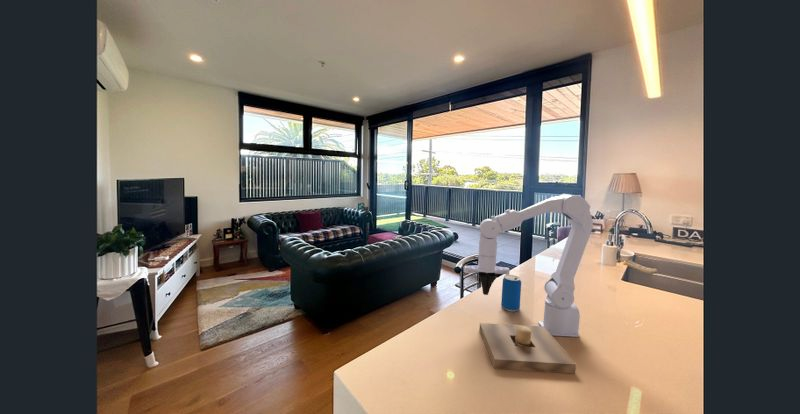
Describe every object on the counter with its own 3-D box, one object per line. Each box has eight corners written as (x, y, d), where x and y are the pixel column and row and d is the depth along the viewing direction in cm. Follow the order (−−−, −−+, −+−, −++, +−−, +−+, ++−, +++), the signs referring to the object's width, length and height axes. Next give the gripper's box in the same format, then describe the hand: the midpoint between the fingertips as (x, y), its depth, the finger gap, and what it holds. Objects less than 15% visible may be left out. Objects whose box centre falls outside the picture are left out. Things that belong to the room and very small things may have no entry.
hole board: (543, 333, 88) (544, 326, 88) (575, 373, 70) (576, 364, 70) (479, 330, 89) (479, 322, 89) (494, 368, 72) (494, 359, 71)
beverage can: (521, 313, 101) (523, 281, 100) (502, 311, 103) (504, 279, 101) (517, 305, 108) (519, 275, 107) (499, 303, 109) (501, 273, 108)
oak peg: (524, 344, 82) (525, 325, 81) (532, 353, 78) (534, 333, 77) (511, 345, 81) (512, 326, 81) (519, 354, 77) (521, 334, 77)
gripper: (505, 252, 97) (503, 289, 99) (463, 250, 98) (462, 288, 100) (512, 258, 90) (509, 298, 92) (467, 256, 91) (465, 296, 93)
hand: (485, 293), depth 95 cm, fingers closed
